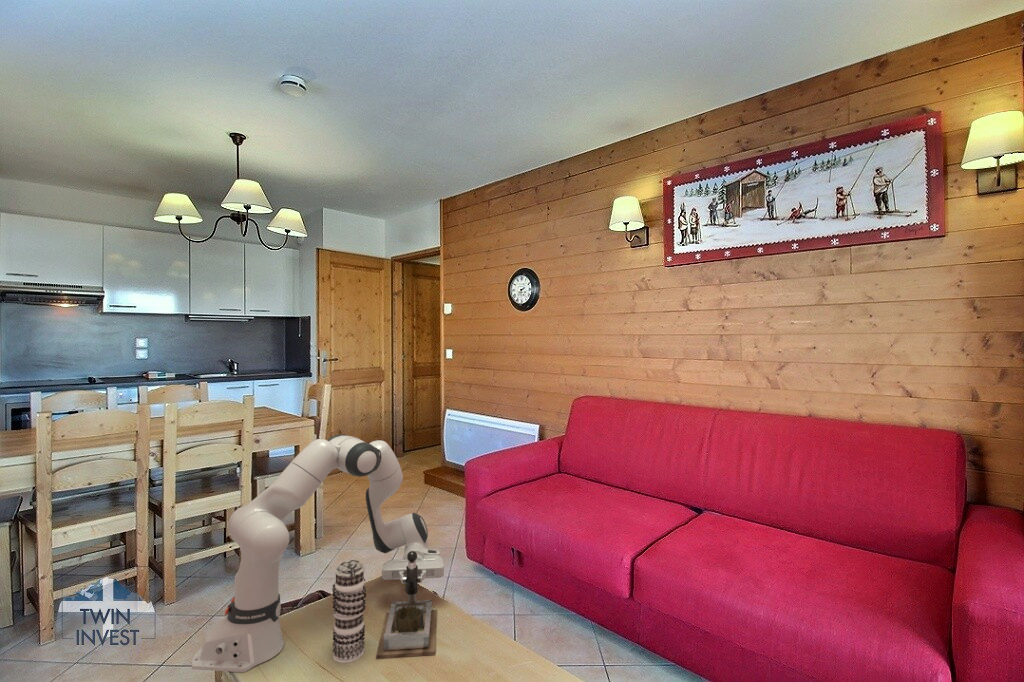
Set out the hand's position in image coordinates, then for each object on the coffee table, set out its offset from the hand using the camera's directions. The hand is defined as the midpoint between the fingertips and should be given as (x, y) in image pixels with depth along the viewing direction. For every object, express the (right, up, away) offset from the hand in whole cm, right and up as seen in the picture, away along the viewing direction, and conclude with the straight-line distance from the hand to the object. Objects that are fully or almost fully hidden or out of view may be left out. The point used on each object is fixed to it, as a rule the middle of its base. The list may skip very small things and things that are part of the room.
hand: (411, 580), depth 155 cm
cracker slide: (+1, -10, -8) cm, 13 cm away
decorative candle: (-14, -11, -18) cm, 26 cm away
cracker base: (+1, -11, -9) cm, 15 cm away
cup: (+1, -12, -11) cm, 16 cm away
